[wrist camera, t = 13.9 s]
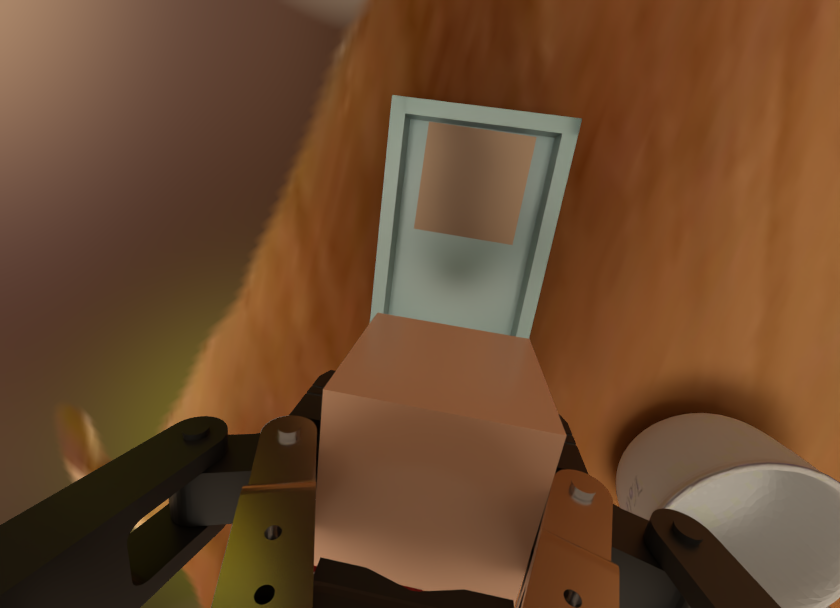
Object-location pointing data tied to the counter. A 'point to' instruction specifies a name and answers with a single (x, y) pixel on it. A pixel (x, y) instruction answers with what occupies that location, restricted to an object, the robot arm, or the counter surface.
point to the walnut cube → (473, 182)
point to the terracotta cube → (436, 456)
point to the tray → (460, 256)
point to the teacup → (742, 500)
